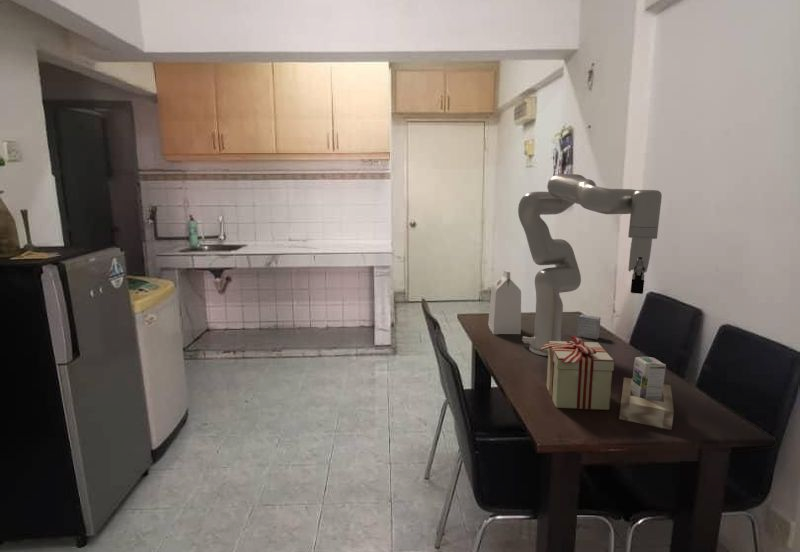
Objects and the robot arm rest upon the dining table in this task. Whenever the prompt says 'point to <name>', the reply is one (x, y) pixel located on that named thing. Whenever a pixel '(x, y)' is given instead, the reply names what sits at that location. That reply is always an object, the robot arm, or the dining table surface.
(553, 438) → the dining table surface
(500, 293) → the milk
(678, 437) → the dining table surface
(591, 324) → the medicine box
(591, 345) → the gift box
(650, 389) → the syrup box
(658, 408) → the socket block
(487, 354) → the dining table surface
